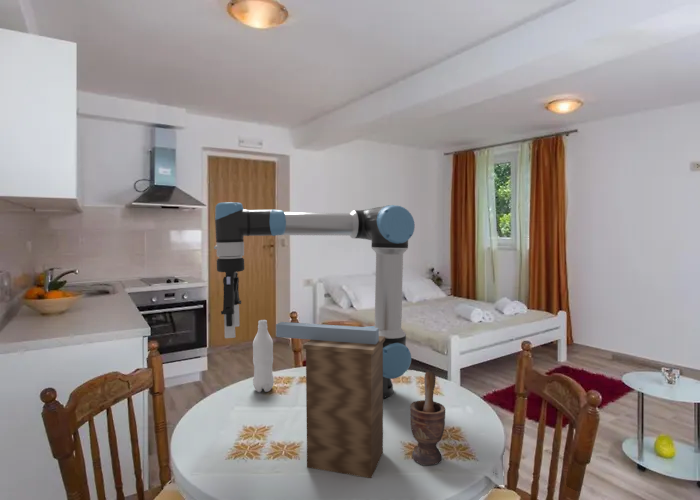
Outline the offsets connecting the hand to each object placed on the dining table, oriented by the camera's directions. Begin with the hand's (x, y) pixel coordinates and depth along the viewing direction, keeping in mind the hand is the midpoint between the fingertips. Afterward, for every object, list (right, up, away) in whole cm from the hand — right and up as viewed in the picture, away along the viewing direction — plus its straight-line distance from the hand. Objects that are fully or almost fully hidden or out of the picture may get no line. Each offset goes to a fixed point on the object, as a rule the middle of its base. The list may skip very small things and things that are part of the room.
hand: (232, 331), depth 122 cm
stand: (+33, -29, -16) cm, 46 cm away
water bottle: (+2, -27, +31) cm, 42 cm away
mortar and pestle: (+53, -29, -13) cm, 62 cm away
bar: (+28, +1, -15) cm, 32 cm away
